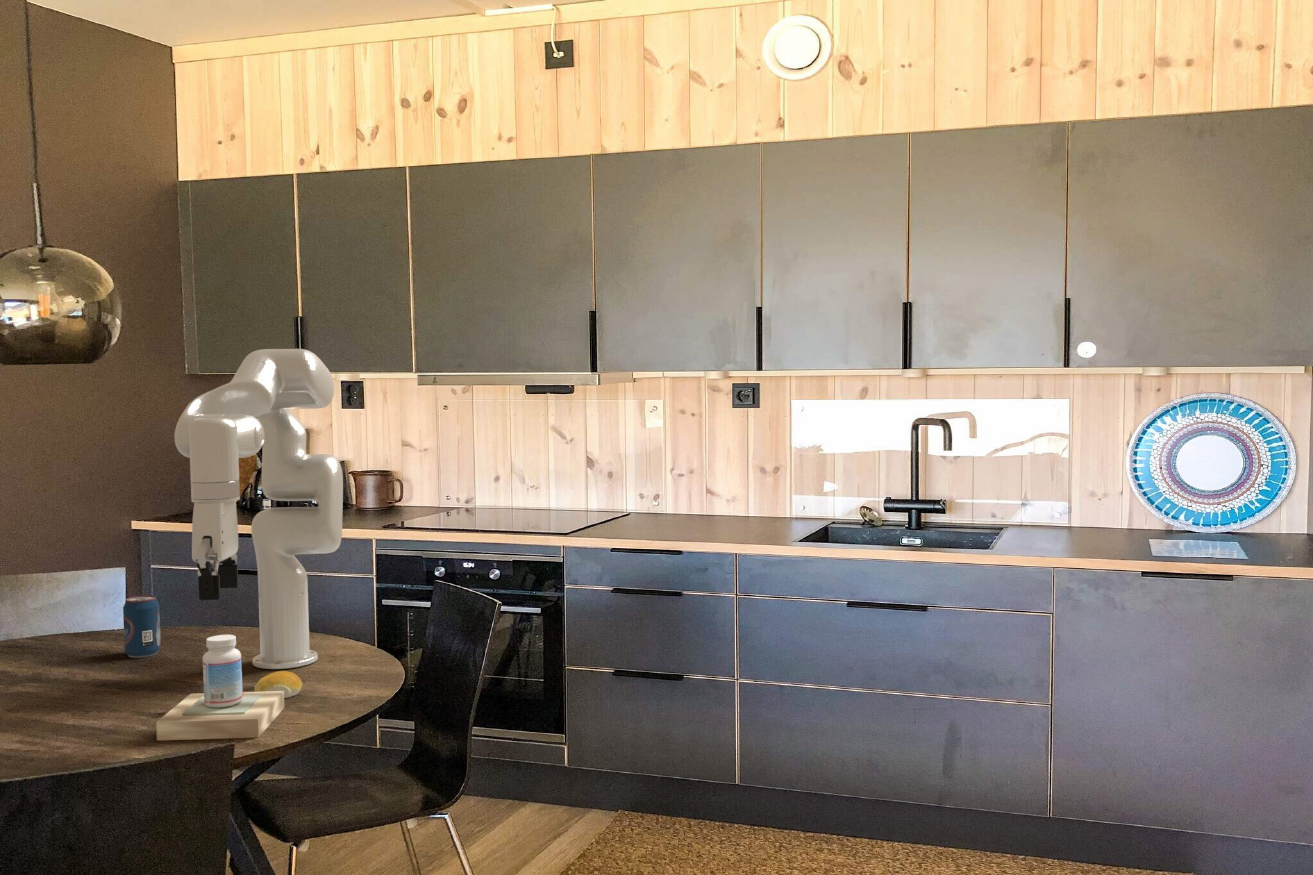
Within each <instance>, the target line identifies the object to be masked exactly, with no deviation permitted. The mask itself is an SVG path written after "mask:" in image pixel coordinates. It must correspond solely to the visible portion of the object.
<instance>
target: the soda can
mask: <svg viewBox="0 0 1313 875" xmlns="http://www.w3.org/2000/svg"><path fill="white" fill-rule="evenodd" d="M122 612H123V614H122V615H123V618H122V619H123V636H124V637H123V640H124V643H123V645H124V646H123V647H124V652H125V653H126V655H127V656H128V657H129V658H137V659H139V658H148V657H152V656H156V655H157V654H158V652H159V651H160V649H161V648H162V646H161V642H162V641H161V639H162V638H161V621H160V620H161V618H160V617H161V616H160V603H159V602H158V601H157V597H156V595H149V594H148V595H147V594H146V595H135V596H130V597H127V598H126V599H125V603H124V605H123V607H122Z"/></svg>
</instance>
